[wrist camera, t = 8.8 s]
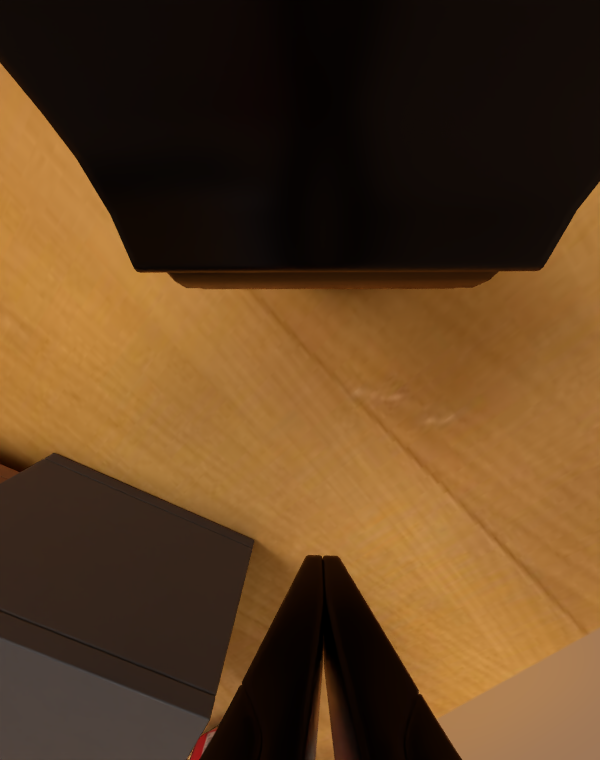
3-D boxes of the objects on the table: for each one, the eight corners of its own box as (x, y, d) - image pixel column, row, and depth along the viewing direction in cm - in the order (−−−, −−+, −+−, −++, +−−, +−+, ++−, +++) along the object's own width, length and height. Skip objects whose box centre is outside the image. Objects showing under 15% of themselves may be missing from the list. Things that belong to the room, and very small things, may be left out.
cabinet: (12, 589, 23) (-190, 778, 14) (54, 452, 20) (-164, 574, 11) (190, 661, 24) (114, 883, 15) (255, 539, 21) (210, 720, 12)
